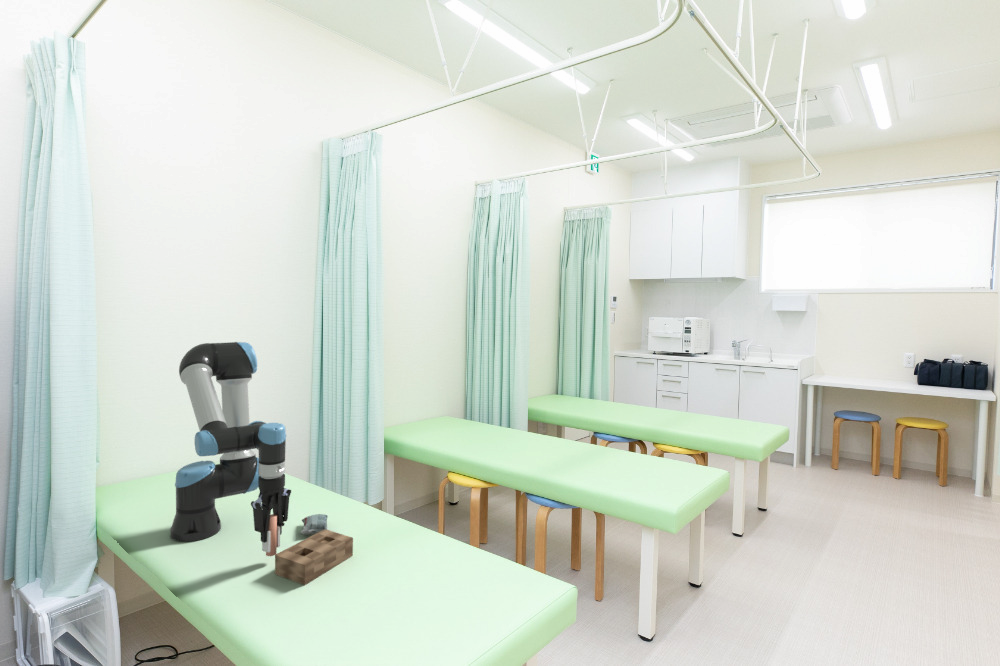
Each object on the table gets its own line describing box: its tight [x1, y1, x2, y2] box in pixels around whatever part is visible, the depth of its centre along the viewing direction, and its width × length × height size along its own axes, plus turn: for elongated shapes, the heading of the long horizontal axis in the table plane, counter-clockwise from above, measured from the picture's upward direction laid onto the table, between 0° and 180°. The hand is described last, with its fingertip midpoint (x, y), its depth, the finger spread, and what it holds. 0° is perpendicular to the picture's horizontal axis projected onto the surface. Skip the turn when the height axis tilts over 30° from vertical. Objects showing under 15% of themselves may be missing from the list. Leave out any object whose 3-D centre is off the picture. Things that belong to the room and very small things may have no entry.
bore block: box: [274, 529, 354, 586], centre depth 167 cm, size 12×20×6 cm, turn 154°
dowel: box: [265, 513, 278, 557], centre depth 167 cm, size 3×3×12 cm
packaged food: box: [300, 513, 329, 535], centre depth 190 cm, size 9×12×5 cm
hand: (271, 548), depth 167 cm, fingers closed on dowel, 3 cm apart
